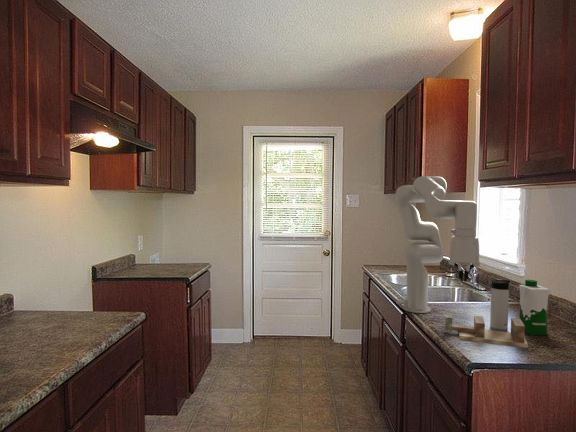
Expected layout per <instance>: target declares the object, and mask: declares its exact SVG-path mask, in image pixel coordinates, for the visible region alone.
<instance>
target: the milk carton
mask: <svg viewBox="0 0 576 432" xmlns="http://www.w3.org/2000/svg"><path fill="white" fill-rule="evenodd" d="M524 283H525V284H519V285H518V286H519V318H518V319H521V321H522V323H523V324H524V326H525V334H527V335H531V336H535V335H536V336H542V335H543V336H548V303H549V302H548V299H549V295H550V292H551V289H550V288H547V287H546V286H541V285H538V280H534V279H525V281H524Z"/></svg>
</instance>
